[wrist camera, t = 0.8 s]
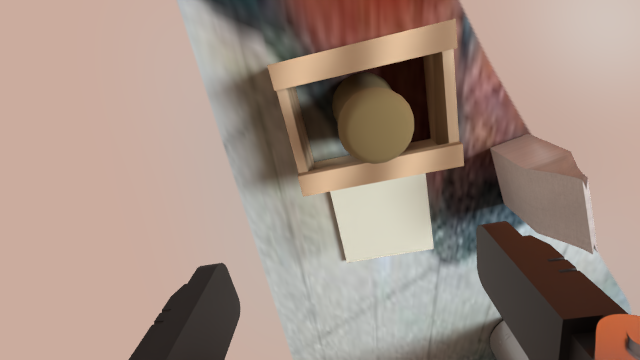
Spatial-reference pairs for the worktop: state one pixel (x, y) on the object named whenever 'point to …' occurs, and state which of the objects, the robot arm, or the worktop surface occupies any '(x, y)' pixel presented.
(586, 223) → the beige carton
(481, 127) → the worktop surface
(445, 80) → the open rectangular wooden frame
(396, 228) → the cream mat
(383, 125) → the cork
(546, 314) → the robot arm
